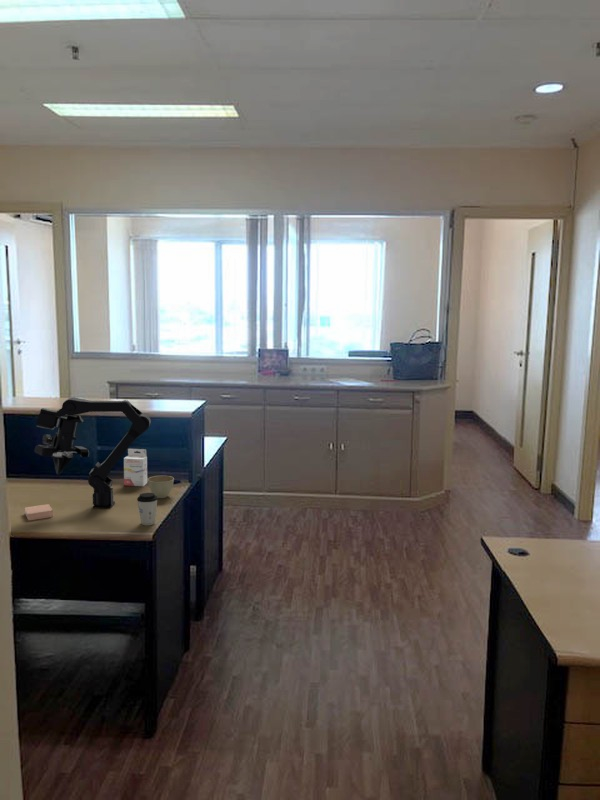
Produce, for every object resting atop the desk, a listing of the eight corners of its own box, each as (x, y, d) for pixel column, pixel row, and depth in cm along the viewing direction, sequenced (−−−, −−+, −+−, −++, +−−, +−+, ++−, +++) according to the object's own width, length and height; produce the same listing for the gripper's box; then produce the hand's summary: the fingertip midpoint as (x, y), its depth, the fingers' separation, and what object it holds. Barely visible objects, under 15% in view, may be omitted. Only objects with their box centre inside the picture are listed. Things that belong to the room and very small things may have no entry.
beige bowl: (171, 500, 233) (171, 482, 232) (145, 500, 233) (144, 482, 232) (176, 492, 243) (176, 475, 242) (151, 492, 243) (151, 475, 242)
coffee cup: (160, 519, 212) (159, 491, 210) (156, 526, 205) (155, 497, 203) (140, 519, 212) (139, 491, 210) (135, 526, 205) (134, 497, 203)
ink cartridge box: (123, 485, 252) (122, 451, 249) (128, 482, 256) (127, 448, 254) (143, 486, 251) (143, 451, 249) (148, 483, 256) (147, 449, 253)
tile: (48, 504, 220) (24, 507, 215) (52, 510, 213) (27, 514, 209) (49, 511, 220) (25, 514, 216) (53, 517, 213) (28, 521, 209)
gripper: (77, 428, 232) (68, 468, 233) (30, 425, 217) (22, 467, 218) (93, 435, 225) (85, 476, 226) (47, 433, 210) (38, 476, 211)
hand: (57, 474), depth 220 cm, fingers closed
